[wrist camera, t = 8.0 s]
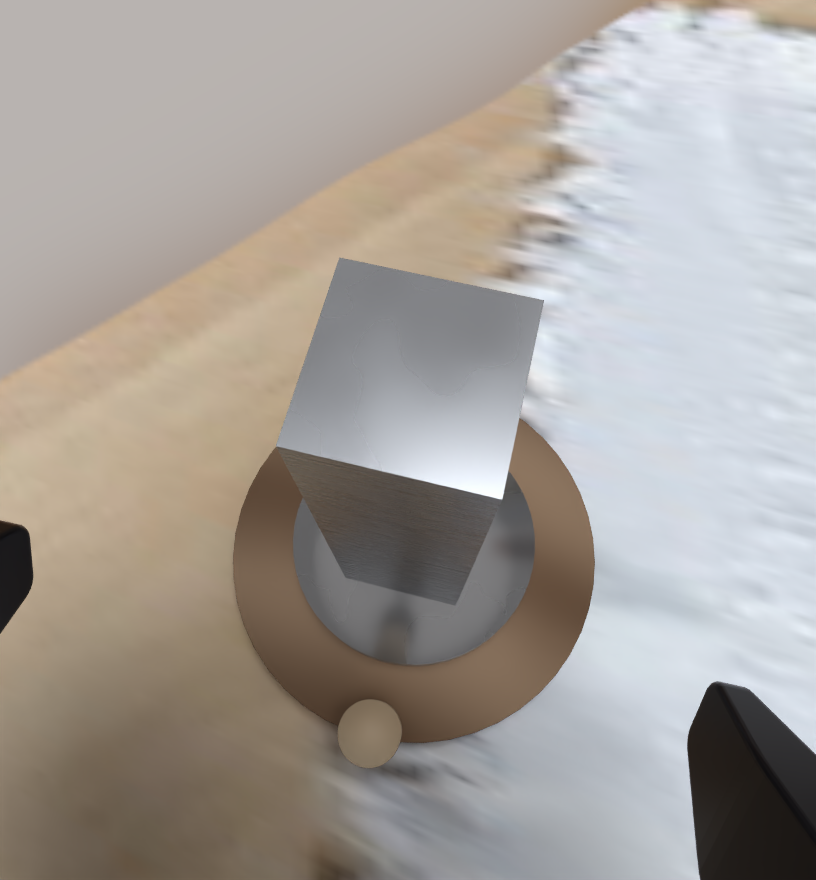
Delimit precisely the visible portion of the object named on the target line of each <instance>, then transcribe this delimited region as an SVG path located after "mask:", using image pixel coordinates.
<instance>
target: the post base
mask: <svg viewBox="0 0 816 880" xmlns="http://www.w3.org/2000/svg"><path fill="white" fill-rule="evenodd" d="M508 471H509V472H510V473H511V474H512V476H513V477H514V478H515V480H516V482H517V483H518V485H519V487H520V488H521V490H522V492H523V494H524V497H525V499H526V501H527V504H528V506H529V510H530V513H531V517H532V521H533V527H534V534H535V555H534V563H533V569H532V573H531V577H530V581H529V584H528V586H527V588H526V591H525V593H524V596H523V598H522V600H521V601H520V603H519V605H518V607H517V608H516V610H515V612H514V613H513V614H512V615H511V617H510V618H509V619H508V621H507V622H506V623H505V624H504V625H503V626H502V627H501V628H500V629H499V630H498V631H497V632H496V633H495V634H494V635H493V636H492V637H491V638H489V639H488V640H487V641H485V642H484V643H483V644H481V645H480V646H479V647H477V648H476V649H474V650H472V651H470V652H469V653H467V654H465V655H463V656H461V657H458V658H456V659H453V660H450V661H448V662H443V663H439V664H435V665H428V666H399V665H394V664H389V663H384V662H381V661H378V660H375V659H372V658H369V657H367V656H365V655H363V654H361V653H359V652H357V651H355V650H354V649H352V648H351V647H349V646H348V645H347V644H345V643H344V642H342V641H341V640H340V639H339V638H338V637H337V636H336V635H334V634H333V633H332V632H331V631H330V630H329V629H328V628H327V627H326V626H325V625H324V624H323V623H322V621H321V620H320V619H319V618H318V617H317V615H316V614H315V613H314V611H313V609H312V608H311V606H310V605H309V603H308V602H307V600H306V597H305V595H304V593H303V591H302V589H301V586H300V583H299V580H298V577H297V573H296V569H295V563H294V556H293V534H294V525H295V520H296V516H297V512H298V509H299V506H300V503H301V501H302V498H303V496H302V494H301V493H300V491H299V489H298V487H297V485H296V483H295V481H294V479H293V477H292V476H291V474H290V472H289V470H288V468H287V466H286V464H285V462H284V460H283V458H282V457H281V455H280V453H279V451H278V449H277V447H276V448H275V449H274V450H273V451H272V453H271V454H270V456H269V457H268V458H267V460H266V461H265V463H264V464H263V465H262V467H261V468H260V470H259V472H258V474H257V475H256V477H255V479H254V481H253V483H252V485H251V487H250V488H249V491H248V494H247V496H246V499H245V501H244V504H243V507H242V509H241V513H240V517H239V521H238V525H237V529H236V535H235V544H234V553H233V565H234V583H235V590H236V596H237V602H238V606H239V609H240V613H241V616H242V619H243V623H244V626H245V628H246V630H247V632H248V635H249V637H250V639H251V641H252V643H253V646H254V648H255V650H256V651H257V653H258V654H259V656H260V657H261V659H262V661H263V662H264V664H265V665H266V667H267V669H268V670H269V671H270V672H271V673H272V675H273V676H274V677H275V678H276V679H277V680H278V682H279V683H280V684H281V685H282V686H283V688H284V689H286V690H287V691H288V692H289V693H290V694H291V695H292V696H293V697H294V698H296V699H297V700H298V701H299V702H300V703H301V704H302V705H304V706H305V707H307V708H308V709H310V710H311V711H313V712H314V713H316V714H317V715H319V716H320V717H322V718H323V719H325V720H327V721H329V722H331V723H333V724H335V725H337V726H338V742H339V746H340V749H341V751H342V753H343V754H344V756H345V757H346V758H347V759H348V760H349V761H350V762H351V763H353V764H355V765H357V766H359V767H363V768H375V767H378V766H381V765H383V764H384V763H386V762H387V761H389V760H390V759H391V758H392V757H393V755H394V754H395V752H396V751H397V749H398V746H399V744H400V742H407V743H426V742H434V741H443V740H450V739H454V738H457V737H461V736H465V735H468V734H472V733H475V732H477V731H480V730H482V729H484V728H487V727H489V726H491V725H494V724H496V723H498V722H500V721H501V720H503V719H505V718H506V717H508V716H510V715H511V714H513V713H515V712H516V711H518V710H519V709H521V708H522V707H523V706H524V705H525V704H527V703H528V702H529V701H530V700H532V699H533V698H534V697H535V696H536V695H538V694H539V693H540V692H541V691H542V690H543V688H544V687H545V686H546V685H547V684H548V683H549V682H550V681H551V680H552V679H553V678H554V676H555V675H556V674H557V673H558V671H559V670H560V668H561V667H562V665H563V664H564V662H565V661H566V660H567V658H568V657H569V655H570V653H571V651H572V649H573V647H574V645H575V643H576V641H577V639H578V637H579V635H580V633H581V631H582V628H583V625H584V622H585V619H586V616H587V613H588V610H589V606H590V601H591V596H592V590H593V584H594V566H595V559H594V545H593V536H592V532H591V527H590V522H589V517H588V514H587V511H586V508H585V505H584V502H583V499H582V497H581V494H580V492H579V490H578V488H577V486H576V484H575V482H574V480H573V478H572V476H571V474H570V472H569V471H568V469H567V468H566V466H565V465H564V463H563V462H562V460H561V459H560V457H559V456H558V455H557V453H556V452H555V451H554V450H553V449H552V448H551V446H550V445H549V444H548V443H547V442H546V441H545V439H544V438H543V437H541V436H540V435H539V434H538V433H537V432H536V431H535V430H534V429H533V428H532V427H530V426H529V425H528V424H527V423H526V422H524V421H523V420H521V419H520V418H519V422H518V427H517V432H516V436H515V441H514V446H513V451H512V455H511V460H510V465H509V470H508Z"/></svg>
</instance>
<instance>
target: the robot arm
mask: <svg viewBox="0 0 816 880" xmlns="http://www.w3.org/2000/svg"><path fill="white" fill-rule="evenodd" d="M32 582H33V567H32V556H31V544H30V535H29V532H28V530H27V529H26V528H25V527H24V526H22V525H19V524H14V523H10V522H5V521H1V520H0V634H1V632H2V631H3V629H4V628H5V626H6V625H7V624H8V622H9V621H10V619H11V618H12V616H13V615H14V614H15V612H16V611H17V609H18V608H19V607H20V605H21V604H22V602H23V601H24V599H25V598H26V597H27V595H28V593H29V591H30V589H31V586H32ZM687 750H688V761H689V772H690V784H691V795H692V806H693V817H694V828H695V839H696V850H697V859H698V868H699V875H700V880H816V754H815V753H814V752H813V751H812V750H811V749H810V748H809V747H808V746H807V745H806V744H805V743H803V742H802V741H801V740H800V739H799V738H798V737H797V736H796V735H795V734H794V733H793V732H792V731H791V730H790V729H789V728H788V727H787V726H786V725H785V724H784V723H783V722H782V721H781V720H780V719H779V718H778V717H777V716H776V715H775V714H774V713H773V712H772V711H771V710H770V709H769V708H768V707H767V706H766V705H765V704H764V703H763V702H762V701H761V700H760V699H759V698H758V697H757V696H756V695H755V694H754V693H752V692H751V691H750V690H749V689H747V688H745V687H741V686H737V685H732V684H728V683H723V682H714V683H712V684H711V685H710V686H709V687H708V688H707V690H706V692H705V695H704V697H703V699H702V702H701V704H700V706H699V709H698V711H697V713H696V716H695V718H694V720H693V723H692V725H691V727H690V730H689V734H688V742H687Z"/></svg>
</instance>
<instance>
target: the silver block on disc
mask: <svg viewBox="0 0 816 880" xmlns="http://www.w3.org/2000/svg"><path fill="white" fill-rule="evenodd" d="M543 303H544V300H540V299H535V298H530V297H525V296H521V295H516V294H511V293H506V292H501V291H497V290H492V289H487V288H482V287H478V286H473V285H468V284H463V283H458V282H454V281H449V280H444V279H439V278H435V277H430V276H425V275H420V274H415V273H411V272H406V271H401V270H396V269H391V268H387V267H382V266H377V265H372V264H368V263H363V262H358V261H353V260H348V259H344V258H339V261H338V264H337V267H336V270H335V273H334V276H333V279H332V282H331V285H330V287H329V290H328V293H327V296H326V299H325V302H324V305H323V308H322V311H321V314H320V317H319V320H318V323H317V326H316V329H315V332H314V335H313V338H312V341H311V344H310V347H309V350H308V353H307V356H306V359H305V361H304V364H303V367H302V370H301V373H300V376H299V379H298V382H297V385H296V388H295V391H294V394H293V397H292V400H291V403H290V406H289V409H288V412H287V415H286V418H285V421H284V424H283V427H282V430H281V433H280V436H279V438H278V441H277V444H276V447H277V449H278V451H279V453H280V455H281V457H282V458H283V460H284V462H285V464H286V466H287V468H288V470H289V472H290V474H291V476H292V477H293V479H294V481H295V483H296V485H297V487H298V489H299V491H300V493H301V494H302V496H303V498H302V501H301V503H300V506H299V509H298V512H297V516H296V520H295V525H294V534H293V556H294V563H295V569H296V573H297V577H298V580H299V583H300V586H301V589H302V591H303V593H304V595H305V597H306V600H307V602H308V603H309V605H310V606H311V608H312V609H313V611H314V613H315V614H316V615H317V617H318V618H319V619H320V620H321V621H322V623H323V624H324V625H325V626H326V627H327V628H328V629H329V630H330V631H331V632H332V633H333V634H334V635H336V636H337V637H338V638H339V639H340V640H341V641H342V642H344V643H345V644H347V645H348V646H349V647H351V648H352V649H354V650H355V651H357V652H359V653H361V654H363V655H365V656H367V657H369V658H372V659H375V660H378V661H381V662H384V663H389V664H394V665H399V666H428V665H435V664H439V663H443V662H448V661H450V660H453V659H456V658H458V657H461V656H463V655H465V654H467V653H469V652H470V651H472V650H474V649H476V648H477V647H479V646H480V645H481V644H483V643H484V642H485V641H487V640H488V639H489V638H491V637H492V636H493V635H494V634H495V633H496V632H497V631H498V630H499V629H500V628H501V627H502V626H503V625H504V624H505V623H506V622H507V621H508V619H509V618H510V617H511V615H512V614H513V613H514V612H515V610H516V608H517V607H518V605H519V603H520V601H521V600H522V598H523V596H524V593H525V591H526V588H527V586H528V584H529V581H530V577H531V573H532V569H533V563H534V555H535V534H534V527H533V521H532V517H531V513H530V510H529V506H528V504H527V501H526V499H525V497H524V494H523V492H522V490H521V488H520V487H519V485H518V483H517V482H516V480H515V478H514V477H513V476H512V474H511V473H510V472H509V471H508V470H509V465H510V460H511V455H512V451H513V446H514V441H515V436H516V432H517V427H518V422H519V417H520V412H521V408H522V403H523V398H524V393H525V389H526V384H527V379H528V374H529V370H530V365H531V360H532V355H533V350H534V346H535V341H536V336H537V331H538V327H539V322H540V317H541V312H542V307H543Z"/></svg>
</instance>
